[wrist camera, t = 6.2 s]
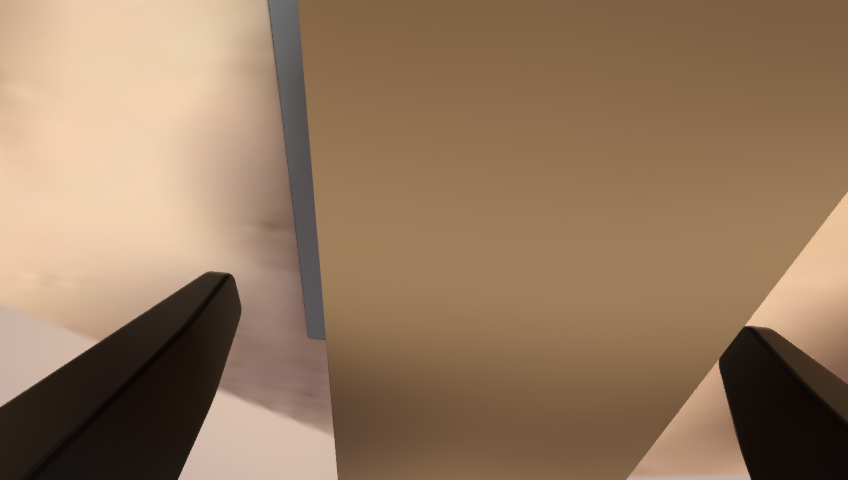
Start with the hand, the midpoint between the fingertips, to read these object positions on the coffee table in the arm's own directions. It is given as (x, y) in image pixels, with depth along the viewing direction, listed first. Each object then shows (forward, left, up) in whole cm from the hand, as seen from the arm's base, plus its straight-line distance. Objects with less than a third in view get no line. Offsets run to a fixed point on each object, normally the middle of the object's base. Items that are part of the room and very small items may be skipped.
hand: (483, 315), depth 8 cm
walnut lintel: (0, 0, -2) cm, 2 cm away
